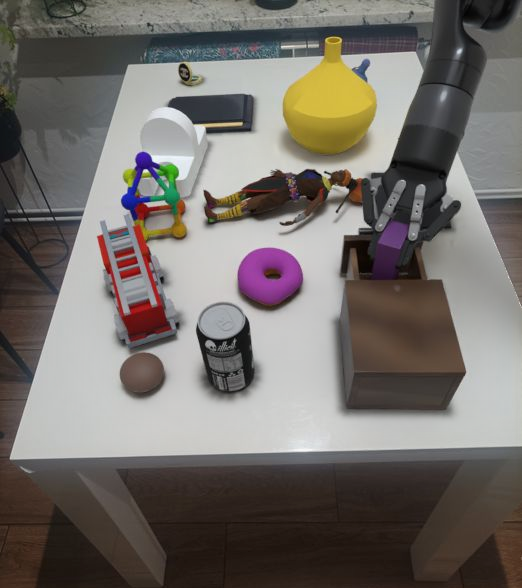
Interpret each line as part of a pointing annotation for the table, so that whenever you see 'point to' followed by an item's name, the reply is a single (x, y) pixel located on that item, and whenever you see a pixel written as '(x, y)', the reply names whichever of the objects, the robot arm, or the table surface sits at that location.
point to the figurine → (285, 193)
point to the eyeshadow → (188, 74)
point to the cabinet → (399, 345)
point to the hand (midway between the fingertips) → (385, 264)
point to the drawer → (359, 261)
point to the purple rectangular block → (389, 251)
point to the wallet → (217, 111)
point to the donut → (268, 263)
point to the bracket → (173, 148)
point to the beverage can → (226, 345)
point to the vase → (329, 105)
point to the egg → (141, 372)
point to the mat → (404, 216)
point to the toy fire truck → (135, 286)
